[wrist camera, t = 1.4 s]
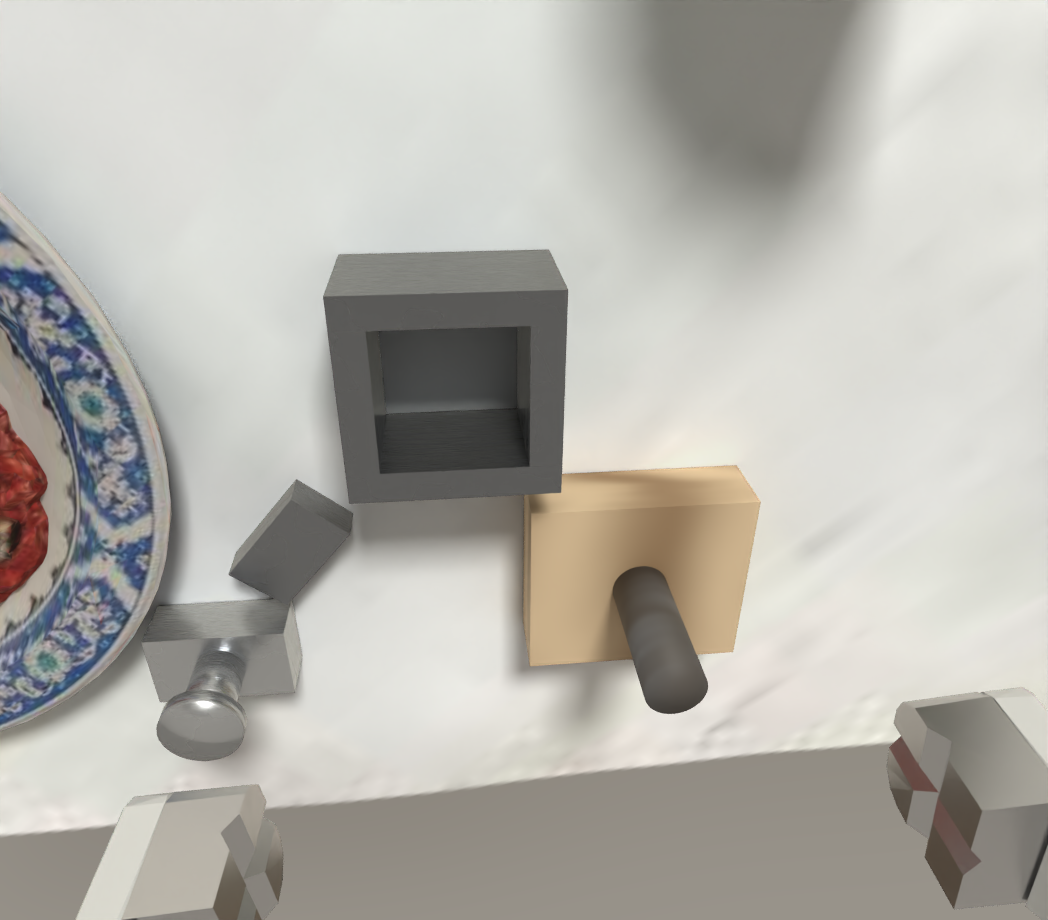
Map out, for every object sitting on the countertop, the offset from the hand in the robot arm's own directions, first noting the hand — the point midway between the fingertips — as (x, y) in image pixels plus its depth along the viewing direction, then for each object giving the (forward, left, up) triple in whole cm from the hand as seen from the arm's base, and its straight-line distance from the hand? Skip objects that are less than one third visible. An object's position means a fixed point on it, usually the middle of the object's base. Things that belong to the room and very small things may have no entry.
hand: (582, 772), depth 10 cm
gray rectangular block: (-7, -8, -18) cm, 21 cm away
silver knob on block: (-10, -13, -18) cm, 24 cm away
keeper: (+5, -10, -18) cm, 21 cm away
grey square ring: (-1, -1, -18) cm, 18 cm away
